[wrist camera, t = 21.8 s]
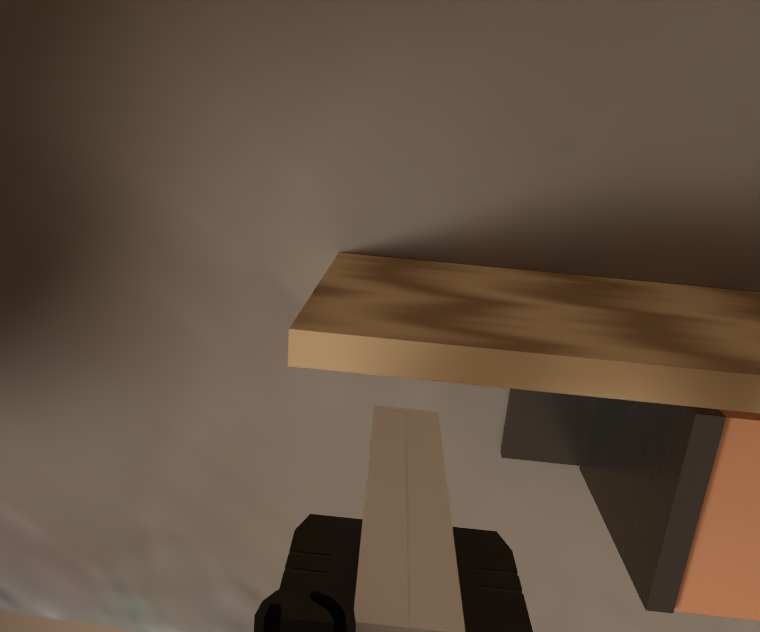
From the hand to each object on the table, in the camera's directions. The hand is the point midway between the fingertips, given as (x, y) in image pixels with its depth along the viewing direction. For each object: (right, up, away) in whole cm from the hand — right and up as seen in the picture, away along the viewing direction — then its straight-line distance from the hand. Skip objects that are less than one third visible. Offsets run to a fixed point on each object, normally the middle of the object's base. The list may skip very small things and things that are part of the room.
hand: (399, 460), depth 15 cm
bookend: (+9, -1, +17) cm, 19 cm away
